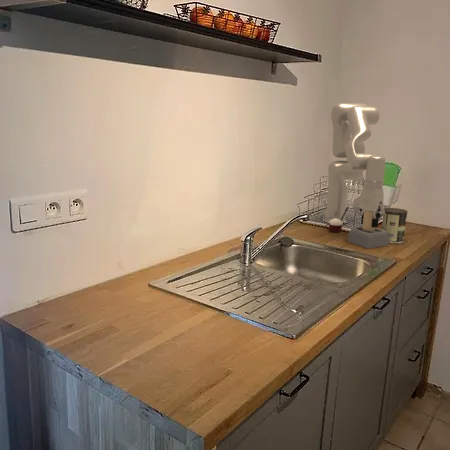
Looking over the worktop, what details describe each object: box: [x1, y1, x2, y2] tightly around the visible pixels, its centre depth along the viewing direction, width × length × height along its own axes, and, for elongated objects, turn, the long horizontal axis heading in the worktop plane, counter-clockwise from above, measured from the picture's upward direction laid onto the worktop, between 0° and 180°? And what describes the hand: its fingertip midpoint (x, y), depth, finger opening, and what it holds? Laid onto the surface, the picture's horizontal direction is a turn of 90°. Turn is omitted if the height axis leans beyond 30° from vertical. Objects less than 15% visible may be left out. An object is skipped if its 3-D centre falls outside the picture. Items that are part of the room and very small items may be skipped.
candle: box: [362, 210, 377, 231], centre depth 217 cm, size 6×6×10 cm
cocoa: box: [325, 206, 349, 233], centre depth 237 cm, size 10×6×12 cm, turn 61°
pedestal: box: [347, 226, 389, 249], centre depth 219 cm, size 12×12×6 cm
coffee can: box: [381, 207, 409, 244], centre depth 224 cm, size 10×10×14 cm
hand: (369, 225), depth 218 cm, fingers closed on candle, 5 cm apart
